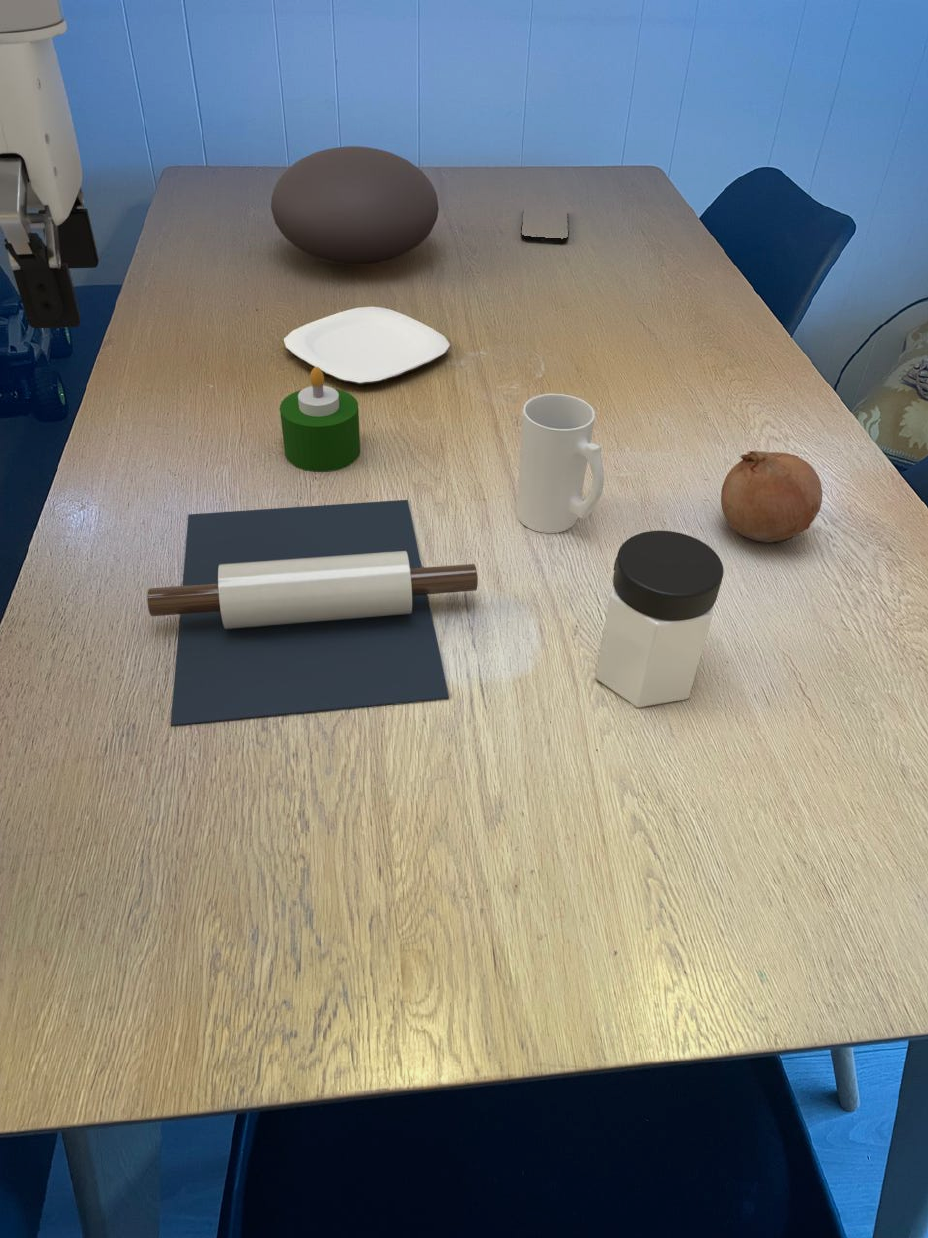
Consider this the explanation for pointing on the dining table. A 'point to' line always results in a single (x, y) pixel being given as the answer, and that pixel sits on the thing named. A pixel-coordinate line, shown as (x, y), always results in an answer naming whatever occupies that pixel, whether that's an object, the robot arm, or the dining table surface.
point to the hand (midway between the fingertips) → (67, 294)
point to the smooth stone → (354, 205)
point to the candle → (320, 426)
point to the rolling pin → (312, 589)
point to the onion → (771, 496)
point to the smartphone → (544, 239)
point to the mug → (557, 463)
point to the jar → (658, 616)
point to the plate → (366, 344)
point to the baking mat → (304, 652)
